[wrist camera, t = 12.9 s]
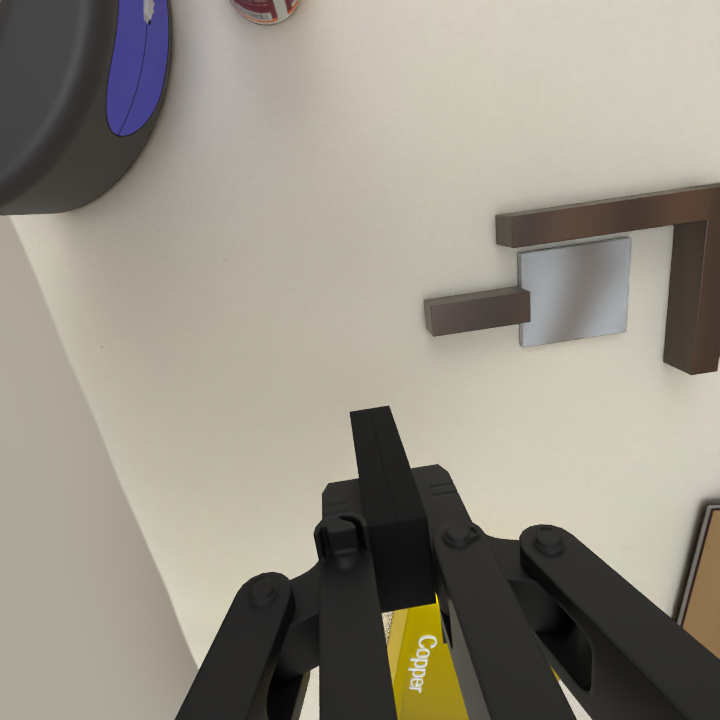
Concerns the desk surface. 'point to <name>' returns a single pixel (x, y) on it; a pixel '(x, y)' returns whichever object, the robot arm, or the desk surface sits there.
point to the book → (704, 586)
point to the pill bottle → (265, 10)
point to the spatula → (548, 296)
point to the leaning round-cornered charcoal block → (76, 96)
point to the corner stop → (689, 259)
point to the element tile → (423, 667)
